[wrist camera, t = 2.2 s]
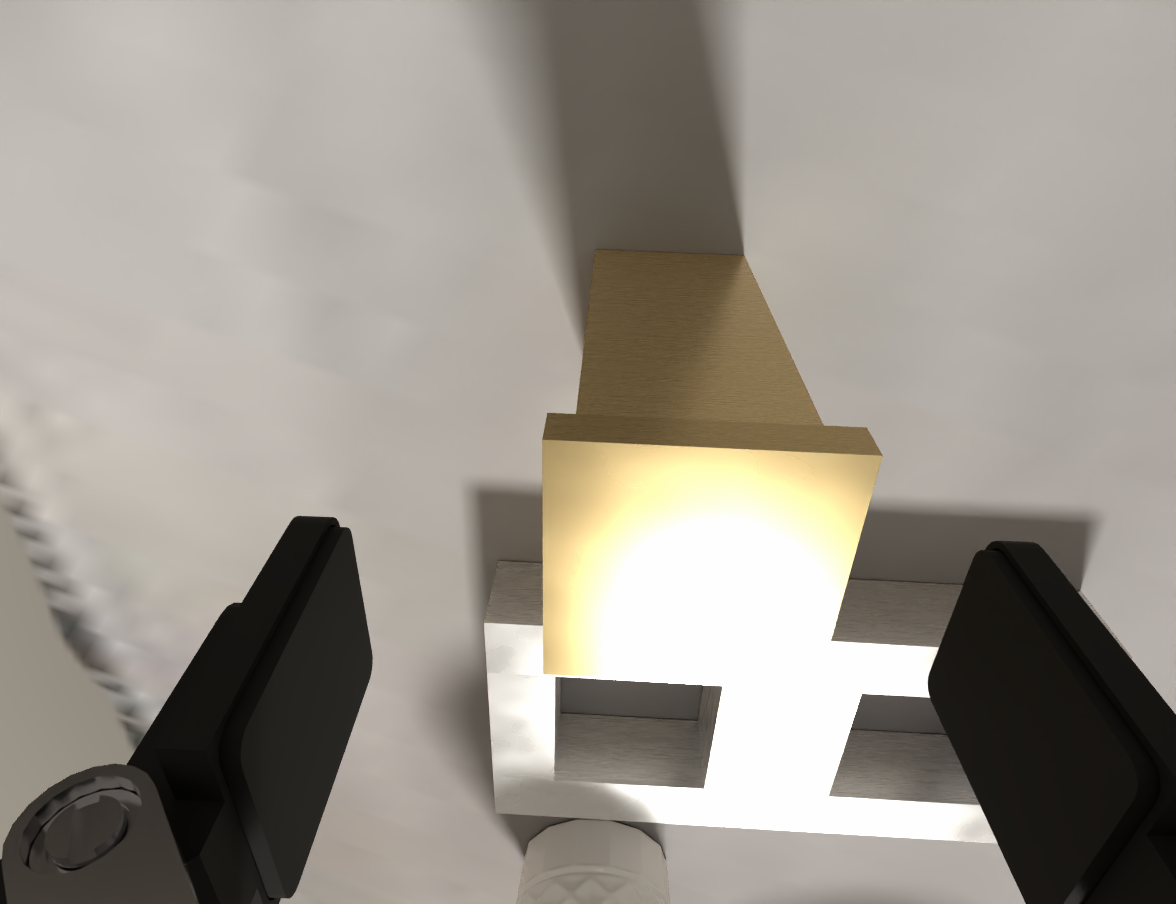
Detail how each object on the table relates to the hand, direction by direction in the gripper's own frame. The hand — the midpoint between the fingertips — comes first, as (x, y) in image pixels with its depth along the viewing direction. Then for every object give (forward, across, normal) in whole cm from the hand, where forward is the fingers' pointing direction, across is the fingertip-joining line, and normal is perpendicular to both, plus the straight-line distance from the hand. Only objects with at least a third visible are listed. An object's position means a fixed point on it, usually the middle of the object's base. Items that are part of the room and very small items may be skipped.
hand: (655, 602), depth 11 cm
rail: (+11, -6, +14) cm, 19 cm away
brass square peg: (+11, -1, 0) cm, 11 cm away
